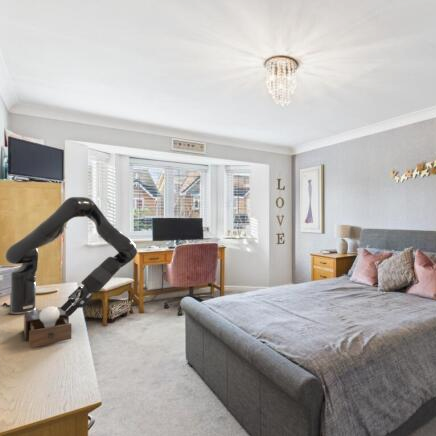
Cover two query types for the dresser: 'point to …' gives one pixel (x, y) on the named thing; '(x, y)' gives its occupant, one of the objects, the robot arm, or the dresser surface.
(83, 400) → the dresser surface
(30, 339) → the drawer
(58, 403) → the dresser surface
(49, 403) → the dresser surface
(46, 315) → the lightbulb
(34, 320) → the cabinet
